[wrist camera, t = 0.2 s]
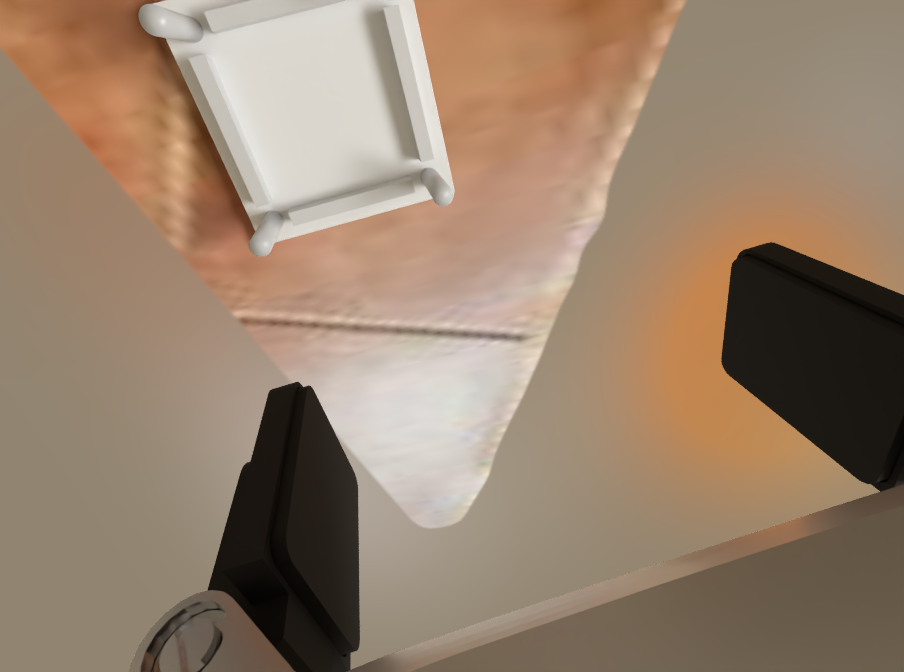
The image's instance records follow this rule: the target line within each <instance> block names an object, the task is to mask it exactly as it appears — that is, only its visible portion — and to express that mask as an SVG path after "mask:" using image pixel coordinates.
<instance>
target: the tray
mask: <svg viewBox="0 0 904 672" xmlns="http://www.w3.org/2000/svg"><path fill="white" fill-rule="evenodd" d="M138 16H139V21H140V24H141V26H142V27H143V28H144V30H145V31H146V32H148V33H149V34H151V35H153V36H157V37H162V38H166V40H167V43H168V45H169V47H170V49H171V51H172V53H173V55H174V58H175V60H176V62H177V64H178V66H179V68H180V70H181V73H182V75H183V77H184V79H185V81H186V83H187V85H188V88H189V90H190V92H191V94H192V96H193V98H194V100H195V103H196V105H197V107H198V109H199V111H200V113H201V115H202V118H203V120H204V122H205V124H206V126H207V128H208V131H209V133H210V135H211V137H212V139H213V141H214V143H215V146H216V148H217V150H218V152H219V154H220V156H221V158H222V161H223V163H224V165H225V167H226V169H227V171H228V173H229V176H230V178H231V180H232V182H233V184H234V186H235V188H236V191H237V193H238V195H239V197H240V199H241V201H242V203H243V206H244V208H245V210H246V212H247V214H248V216H249V218H250V221H251V223H252V225H253V227H254V229H255V233H254V235H253V236H252V238H251V240H250V241H249V249H250V251H251V252H252V253H253V254H254V255H256V256H260V257H263V256H266V255H268V254H269V253H270V251H271V249H272V247H273V245H274V243H275V242H278V241H282V240H286V239H289V238H293V237H296V236H300V235H304V234H307V233H311V232H314V231H318V230H322V229H325V228H329V227H332V226H336V225H340V224H343V223H347V222H350V221H354V220H358V219H361V218H365V217H368V216H372V215H376V214H379V213H383V212H386V211H390V210H394V209H397V208H401V207H404V206H408V205H412V204H415V203H419V202H422V201H426V200H430V199H433V200H434V201H435V203H436V204H438V205H440V206H446V205H448V204H450V203H451V202H452V200H453V196H454V194H453V193H455V190H454V186H453V181H452V176H451V172H450V167H449V163H448V158H447V153H446V149H445V144H444V139H443V135H442V130H441V125H440V121H439V116H438V112H437V107H436V102H435V98H434V93H433V88H432V84H431V79H430V74H429V70H428V65H427V61H426V56H425V51H424V47H423V42H422V37H421V33H420V28H419V23H418V19H417V14H416V10H415V5H414V0H165V1H161V2H157V3H153V4H145V5H143V6H142V7H141V8H140V10H139V15H138Z"/></svg>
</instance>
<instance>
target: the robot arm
mask: <svg viewBox="0 0 904 672" xmlns="http://www.w3.org/2000/svg"><path fill="white" fill-rule="evenodd" d="M722 365H723V368H724V369H725V371H726V373H727V374H729V376H731V377H732V378H733V379H734V380H736V381H737V382H738V383H739V384H740V385H742V386H743V387H744V388H745V389H747V390H748V391H749V392H750V393H752V394H753V395H754V396H755V397H757V398H758V399H759V400H760V401H762V402H763V403H764V404H765V405H767V406H768V407H769V408H770V409H771V410H773V411H774V412H775V413H776V414H778V415H779V416H780V417H781V418H783V419H784V420H785V421H786V422H787V423H789V424H790V425H791V426H793V427H794V428H795V429H796V430H797V431H799V432H800V433H801V434H803V435H804V436H805V437H806V438H807V439H809V440H810V441H811V442H812V443H814V444H815V445H816V446H817V447H819V448H820V449H821V450H822V451H823V452H825V453H826V454H827V455H829V456H830V457H831V458H832V459H833V460H835V461H836V462H837V463H839V465H841V466H842V467H843V468H844V469H846V470H847V471H848V472H850V473H851V474H852V475H853V476H855V477H856V478H857V479H859V480H860V481H861V482H864V483H867V484H871V485H873V486H874V487H875V488H877V489H878V490H879V491H880V492H878V493H876V494H872V495H869V496H866V497H863V498H859V499H856V500H853V501H851V502H847V503H844V504H841V505H837V506H834V507H831V508H828V509H825V510H822V511H819V512H816V513H813V514H809V515H807V516H803V517H800V518H797V519H794V520H791V521H788V522H785V523H782V524H779V525H775V526H772V527H770V528H766V529H763V530H760V531H757V532H754V533H751V534H748V535H745V536H742V537H738V538H735V539H732V540H729V541H726V542H723V543H720V544H717V545H714V546H711V547H708V548H705V549H702V550H699V551H695V552H692V553H689V554H686V555H683V556H680V557H677V558H674V559H671V560H668V561H665V562H662V563H659V564H655V565H652V566H650V567H646V568H643V569H640V570H637V571H634V572H631V573H628V574H625V575H622V576H619V577H616V578H613V579H610V580H607V581H604V582H601V583H598V584H595V585H592V586H589V587H586V588H583V589H580V590H577V591H574V592H571V593H568V594H564V595H562V596H558V597H555V598H552V599H549V600H546V601H543V602H540V603H537V604H534V605H531V606H528V607H526V608H522V609H519V610H516V611H513V612H510V613H507V614H504V615H501V616H498V617H495V618H492V619H489V620H486V621H483V622H480V623H478V624H475V625H472V626H469V627H466V628H463V629H460V630H457V631H455V632H452V633H449V634H446V635H443V636H441V637H438V638H435V639H432V640H429V641H426V642H423V643H420V644H418V645H415V646H412V647H409V648H406V649H404V650H401V651H398V652H395V653H392V654H389V655H386V656H384V657H381V658H379V659H377V660H374V661H372V662H369V663H367V664H364V665H362V666H360V667H357V668H354V669H352V670H350V653H351V652H354V651H357V650H358V648H359V641H360V630H359V629H360V626H359V625H360V624H359V623H360V621H359V540H358V539H359V538H358V485H357V480H356V476H355V473H354V471H353V469H352V467H351V465H350V463H349V461H348V459H347V457H346V455H345V453H344V451H343V449H342V447H341V445H340V442H339V440H338V438H337V436H336V434H335V432H334V430H333V428H332V426H331V424H330V422H329V420H328V418H327V416H326V414H325V412H324V410H323V408H322V406H321V404H320V402H319V400H318V398H317V396H316V394H315V392H314V390H313V388H312V387H311V386H306V387H303V386H302V385H301V384H300V383H299V382H295V383H292V384H288V385H285V386H282V387H279V388H275V389H272V390H270V392H269V394H268V398H267V401H266V406H265V409H264V413H263V416H262V420H261V424H260V428H259V432H258V436H257V439H256V443H255V447H254V451H253V455H252V458H251V462H248V463H246V464H245V465H244V466H243V468H242V470H241V473H240V476H239V480H238V484H237V487H236V491H235V494H234V498H233V501H232V505H231V509H230V512H229V516H228V519H227V523H226V526H225V530H224V533H223V537H222V541H221V544H220V548H219V552H218V555H217V559H216V563H215V566H214V569H213V573H212V577H211V580H210V584H209V587H208V591H205V592H200V593H197V594H194V595H192V596H190V597H188V598H187V599H185V600H183V601H181V602H179V603H178V604H177V605H175V606H174V607H173V608H172V609H170V610H169V611H168V612H166V613H165V614H164V615H163V616H162V617H161V618H160V619H159V620H158V622H156V624H155V625H154V626H153V627H152V628H151V629H150V631H149V632H148V633H147V635H146V636H145V638H144V639H143V641H142V642H141V644H140V645H139V647H138V649H137V651H136V654H135V656H134V658H133V660H132V663H131V665H130V671H129V672H904V295H902V294H899V293H897V292H895V291H892V290H890V289H887V288H885V287H882V286H880V285H877V284H875V283H872V282H870V281H867V280H865V279H862V278H860V277H858V276H855V275H853V274H850V273H848V272H845V271H843V270H840V269H838V268H835V267H833V266H831V265H828V264H826V263H823V262H821V261H818V260H815V259H813V258H811V257H808V256H806V255H803V254H800V253H799V252H796V251H794V250H791V249H789V248H786V247H784V246H781V245H778V244H776V243H772V242H770V243H766V244H762V245H759V246H756V247H752V248H749V249H745V250H743V251H741V252H740V253H739V255H738V257H737V259H736V260H735V261H734V262H733V263H732V267H731V275H730V285H729V294H728V303H727V312H726V321H725V331H724V340H723V349H722Z"/></svg>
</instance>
